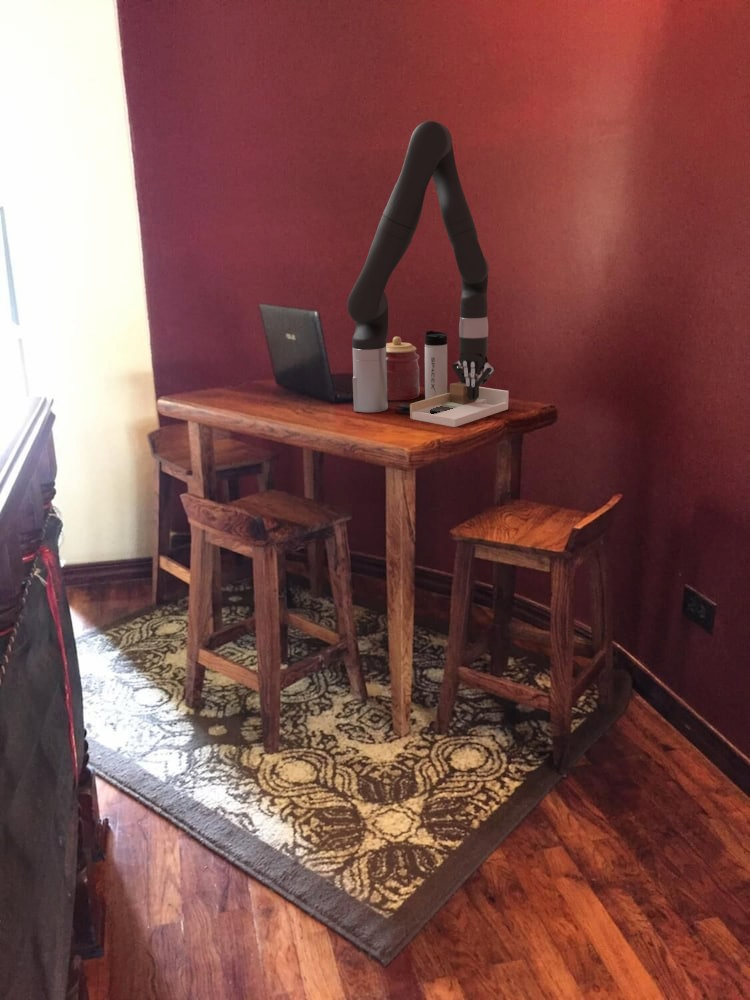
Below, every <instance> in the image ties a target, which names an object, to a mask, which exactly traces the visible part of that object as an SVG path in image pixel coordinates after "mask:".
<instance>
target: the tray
mask: <svg viewBox="0 0 750 1000" xmlns="http://www.w3.org/2000/svg"><path fill="white" fill-rule="evenodd" d="M509 393H510V392H509V390H504V389H497V388H490V387H483V386H479V397H478V399H477V400H476V402H472V403H468V404H464V405H462V404H457V403H453V402H450V392H447V393H446V394H443V395H439V396H436V397H432V398H429V399H425V398H424V399H422V400H419V401H415V402H412V403H409V418H410V419H411V420H415V421H420V422H425V423H431V424H436V425H442V426H446V427H451V428H452V427H453V428H457V427H459V426H462V425H465V424H468V423H471V422H474V421H477V420H480V419H483V418H486V417H488V416H492V415H496V414H497V413H501V412H503V411H506V410H508V409H509ZM440 406H443V407H449V408H453V409H450V410H447V411H440V412H437V413H434V414H431V413H430V410H431V409H433V408H436V407H440Z"/></svg>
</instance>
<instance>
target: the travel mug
mask: <svg viewBox="0 0 750 1000" xmlns="http://www.w3.org/2000/svg"><path fill="white" fill-rule="evenodd" d="M424 341H425V342H424V397H425V398H424V400H425V399H429V398H432V397H436V396H439V395H443V394H446V393H448V334H447V333H445V332H442V331H434V330H427V331H426V332H425V333H424Z"/></svg>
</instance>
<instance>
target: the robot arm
mask: <svg viewBox="0 0 750 1000" xmlns="http://www.w3.org/2000/svg"><path fill="white" fill-rule="evenodd" d="M452 137H453V136H452V134H451V131H450V130H449V129H448V128H447V126H446V125H444V124H442V123H441V122H437V121H434V120H427V121H424V122H422V123H420V124H419V125H417V126H416V127H415V128H414V130H413V132H412V134H411V135H410V140H409V143H408V147H407V150H406V154H405V157H404V160H403V161H404V162H403V165H402V167H401V172H400V174H399V176H398V179H397V182H395V185H394V186H393V187H394V188H393V189H392V192H391V194H390V196H389V199H388V200H387V204H386V206H385V208H384V210H383V212H382V216H381V218H380V220H379V223H378V225H377V229H376V232H375V233H374V237H373V239H372V242H371V245H370V248H369V251H368V254H367V256H366V260H365V263H364V265H363V268H362V270H361V271H360V274H359V276H358V278H357V279H356V282H355V284H354V286H353V288H352V290H351V291H350V293H349V296H348V298H347V302H346V308H347V313H348V315H349V317H350V318H351V319H352V321H354V322H355V330H354V333H353V335H352V340H351V344H352V345H351V346H352V368H353V369H352V372H353V373H352V374H353V376H352V392H353V393H352V394H353V395H352V396H353V397H352V398H353V412H359V413H379V412H384V411H387V410H388V409H389V405H388V403H389V400H388V399H387V356H386V344H387V339H388V334H389V300H388V297H387V295H386V293H385V289H386V286H387V285H388V281H389V279H390V277H391V276H392V273H394V270H395V269H396V268H397V266H398V265H399V263H400V262H401V260H402V259H403V257H404V255H406V253H407V250H408V248H409V247H410V245H411V242H412V240H413V239H414V238H413V237H414V236H415V233H416V231H417V229H418V225H419V222H420V220H421V215H422V211H423V206H424V203H425V202H424V201H425V195H426V192H427V188H428V186H429V183H430V181H431V179H432V181H433V183H434V184H433V185H434V186H435V190H436V193H437V199H438V203H439V209H440V214H441V218H442V222H443V224H444V228H445V231H446V234H447V237H448V240H449V242H450V244H451V247H452V249H453V254H454V259H455V260H456V261H455V262H456V266H457V268H458V269H457V270H458V271H459V275H460V277H461V297H460V301H459V302H460V303H459V313H460V314H459V326H458V352H459V353H460V355H459V357H458V360H457V362H454V363H452V365H451V367H452V369H453V371H454V372H455V375H456V376H457V378H458V380H459V382H461V383H464V384H466V386H467V397H468V399H469V400H471V401H475V400H477V399H478V397H479V387H481V386H482V385H486V383H487V382H488V381H489V379H490V378H491V377H492V375H493V373H494V372H495V371H496V367H495V366H492V365H491V364H490V363H489V358H488V355H487V354H488V350H489V321H488V309H489V307H488V304H489V303H488V283H489V282H488V281H489V264H488V263H489V262H488V260H487V259H486V258H485V256H484V253H483V250H482V247H481V245H480V242H479V237H478V236H479V235H478V231H477V228H476V225H475V221H474V219H473V216H472V213H471V211H470V207H469V204H468V201H467V198H466V195H465V194H464V190H463V186H462V183H461V181H460V176H459V174H458V168H457V165H456V160H455V159H456V158H455V153H454V147H453V145H454V144H453V139H452Z"/></svg>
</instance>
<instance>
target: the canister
mask: <svg viewBox="0 0 750 1000" xmlns="http://www.w3.org/2000/svg"><path fill="white" fill-rule="evenodd" d="M416 351H417V347H416V346H415V345H413V344H412V343H410V342H402V338H401V337H400V336H394V337H393V338H392V342H386V356H387V399H388V401H396V402H397V401H408V400H409V401H410V400H414V399H417V398H419V396H420V392H421V390H420V389H421V388H420V366H419V363H418V362H419V359H420V355H419V354H418V353H416Z"/></svg>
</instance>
